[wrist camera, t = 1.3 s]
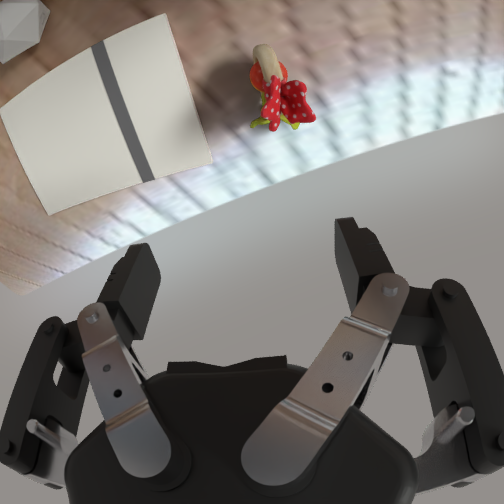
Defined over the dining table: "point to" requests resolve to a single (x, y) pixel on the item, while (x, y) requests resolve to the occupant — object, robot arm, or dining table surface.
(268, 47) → the bird rattle
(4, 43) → the die
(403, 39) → the dining table surface
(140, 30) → the mat
